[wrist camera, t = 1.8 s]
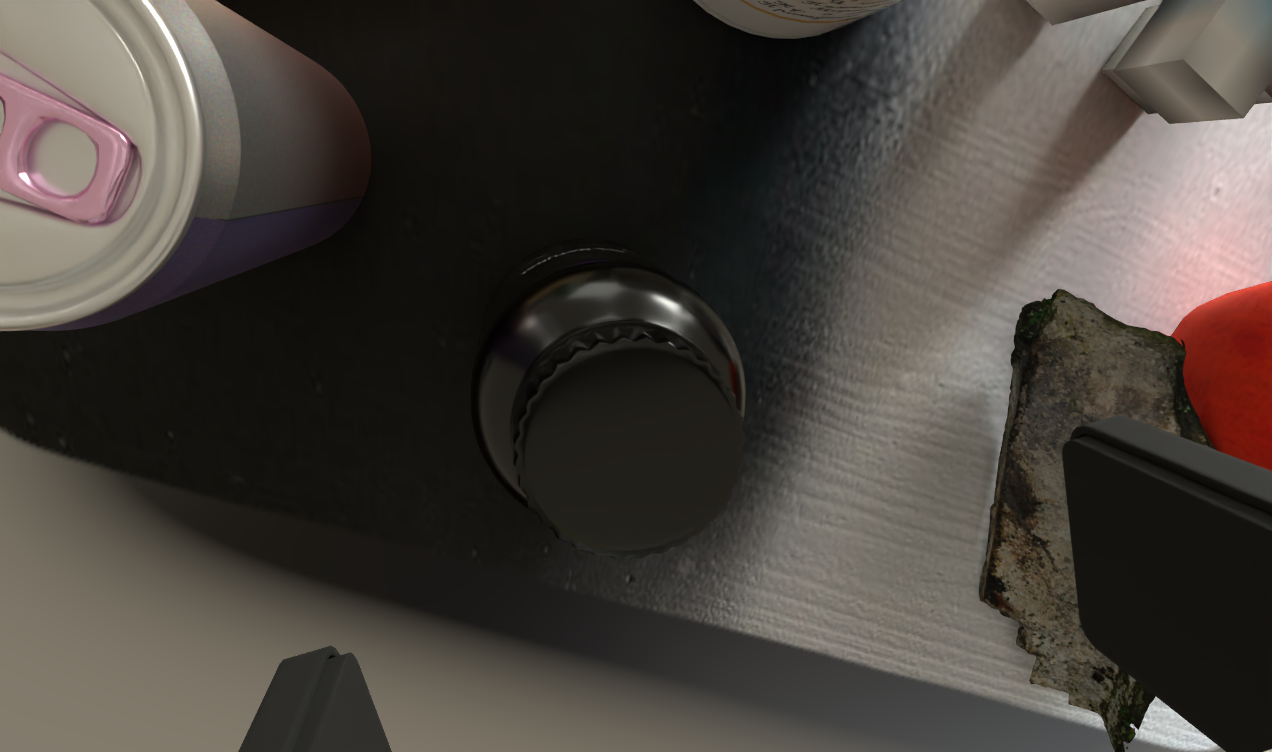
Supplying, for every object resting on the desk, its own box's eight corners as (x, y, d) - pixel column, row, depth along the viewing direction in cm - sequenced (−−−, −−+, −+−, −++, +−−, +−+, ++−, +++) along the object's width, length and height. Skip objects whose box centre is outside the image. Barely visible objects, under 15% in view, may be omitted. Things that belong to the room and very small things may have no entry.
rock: (1163, 249, 27) (907, 337, 35) (1136, 263, 25) (871, 354, 33) (1367, 742, 27) (1062, 725, 34) (1355, 796, 25) (1034, 765, 32)
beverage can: (328, 282, 26) (121, 414, 12) (136, 195, 25) (-368, 224, 10) (406, 109, 25) (285, 23, 11) (211, 8, 24) (-222, -244, 9)
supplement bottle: (574, 192, 27) (632, 204, 15) (719, 329, 29) (867, 432, 17) (435, 347, 27) (390, 472, 16) (586, 472, 29) (644, 665, 18)
